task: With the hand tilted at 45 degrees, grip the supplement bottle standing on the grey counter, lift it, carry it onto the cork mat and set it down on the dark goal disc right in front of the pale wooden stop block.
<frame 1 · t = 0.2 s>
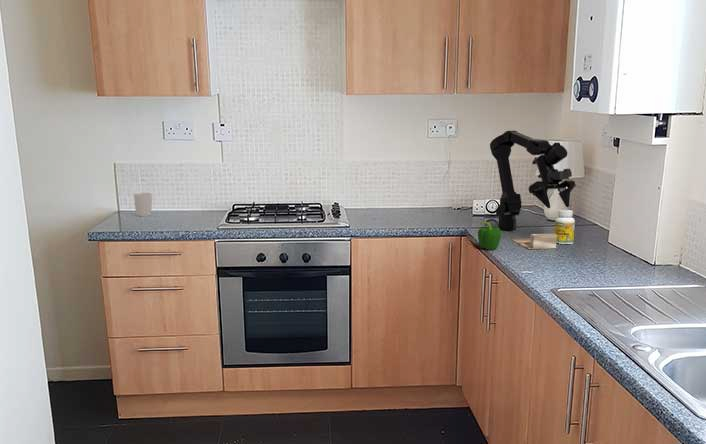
hand: (558, 207, 231), 15 cm above the countertop, tool tilted 30°, fingers open, 9 cm apart
bell pepper: (489, 249, 228), on the countertop
supplement bottle: (563, 243, 237), on the countertop
white cup: (143, 215, 287), on the countertop
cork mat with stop: (534, 244, 235), on the countertop
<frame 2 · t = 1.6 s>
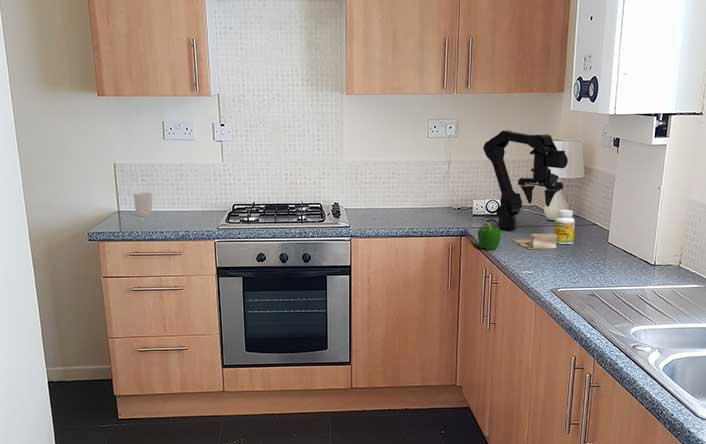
hand: (538, 204, 247), 13 cm above the countertop, tool pointing down, fingers open, 9 cm apart
nothing on the countertop moved.
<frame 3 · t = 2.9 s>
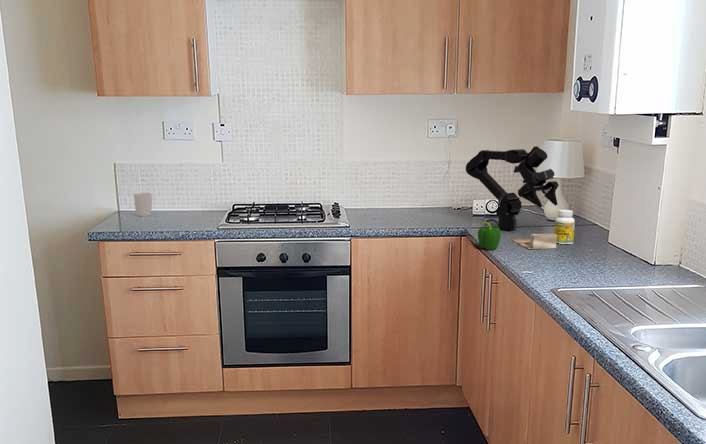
hand: (549, 206, 241), 13 cm above the countertop, tool tilted 45°, fingers open, 9 cm apart
nothing on the countertop moved.
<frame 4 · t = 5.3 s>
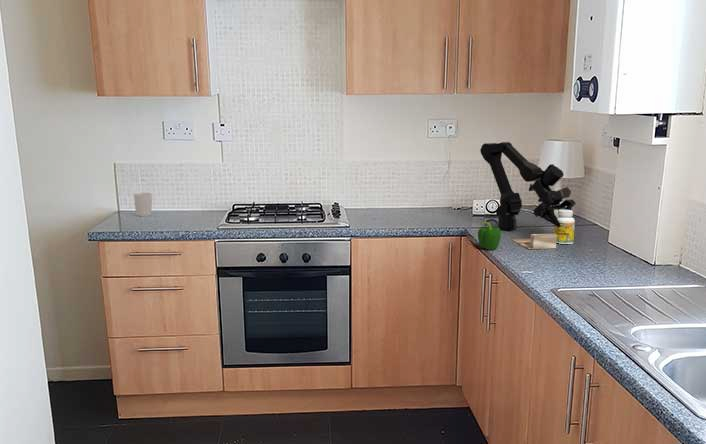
hand: (566, 225, 235), 7 cm above the countertop, tool tilted 45°, fingers closed on supplement bottle, 7 cm apart
supplement bottle: (563, 243, 237), on the countertop, touching gripper
everything else where it was.
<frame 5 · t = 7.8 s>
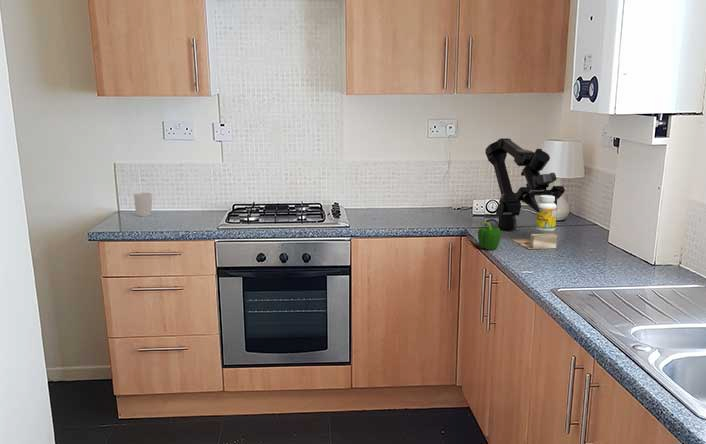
hand: (547, 211, 231), 13 cm above the countertop, tool tilted 45°, fingers closed on supplement bottle, 7 cm apart
supplement bottle: (545, 229, 233), point 6 cm above the countertop, touching gripper
everything else where it was.
when the fingers open (8 cm above the countertop, at t = 9.9 s): supplement bottle stays where it is, resting on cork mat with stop.
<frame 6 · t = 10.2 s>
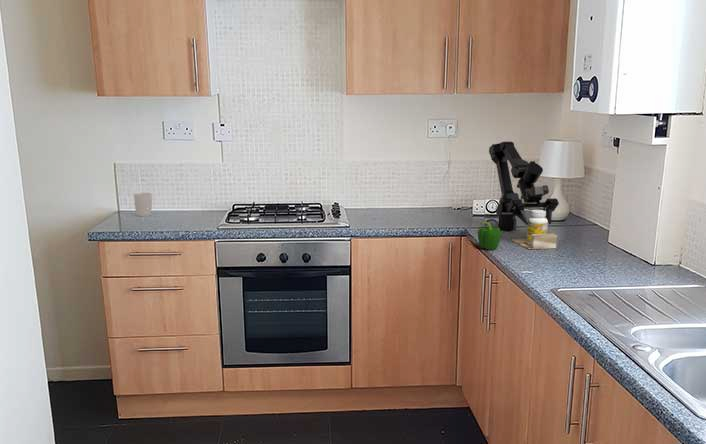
hand: (538, 223, 231), 9 cm above the countertop, tool tilted 45°, fingers open, 9 cm apart
supplement bottle: (536, 244, 233), resting on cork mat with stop
everything else where it was.
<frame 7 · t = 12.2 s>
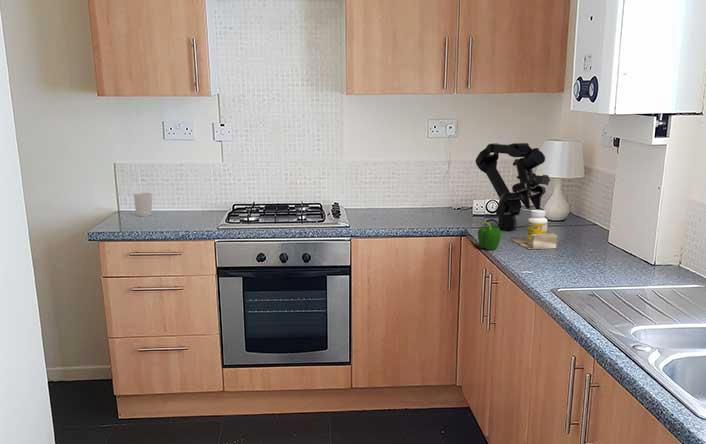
hand: (533, 209, 244), 12 cm above the countertop, tool tilted 25°, fingers open, 9 cm apart
nothing on the countertop moved.
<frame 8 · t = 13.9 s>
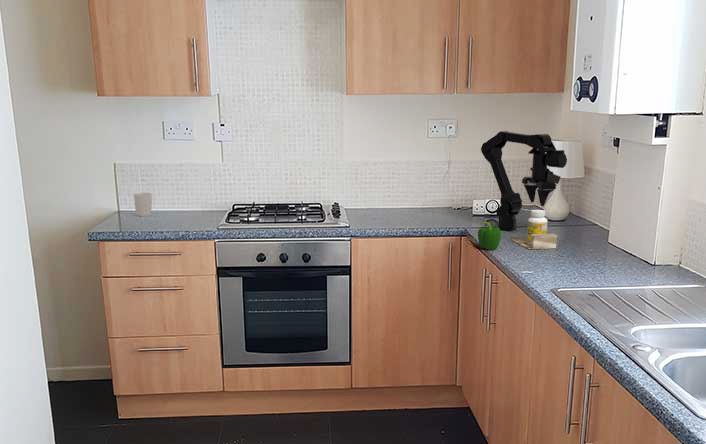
hand: (537, 204, 248), 13 cm above the countertop, tool pointing down, fingers open, 9 cm apart
nothing on the countertop moved.
at the end: supplement bottle inside the target area (0.1 cm from its centre), resting on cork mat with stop; supplement bottle tilted 1°; the gripper is holding nothing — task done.
